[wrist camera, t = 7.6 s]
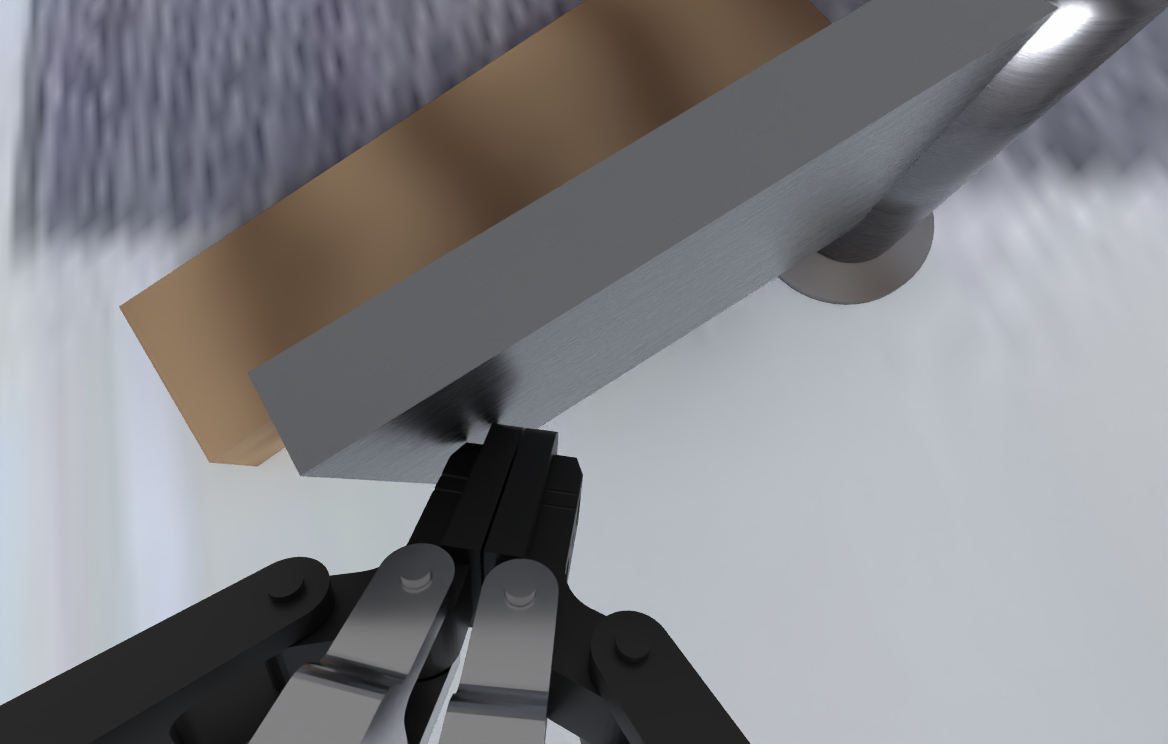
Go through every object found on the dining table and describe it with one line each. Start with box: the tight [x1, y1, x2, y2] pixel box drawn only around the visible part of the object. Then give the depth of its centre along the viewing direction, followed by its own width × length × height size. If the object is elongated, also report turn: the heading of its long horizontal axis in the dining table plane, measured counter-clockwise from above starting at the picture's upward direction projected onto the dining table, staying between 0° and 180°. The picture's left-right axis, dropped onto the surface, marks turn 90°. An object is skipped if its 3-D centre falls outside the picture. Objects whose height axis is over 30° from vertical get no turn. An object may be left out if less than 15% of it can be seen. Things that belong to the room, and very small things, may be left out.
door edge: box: [119, 0, 934, 466], centre depth 17 cm, size 26×18×8 cm
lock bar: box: [248, 0, 1168, 484], centre depth 14 cm, size 17×4×10 cm, turn 122°
